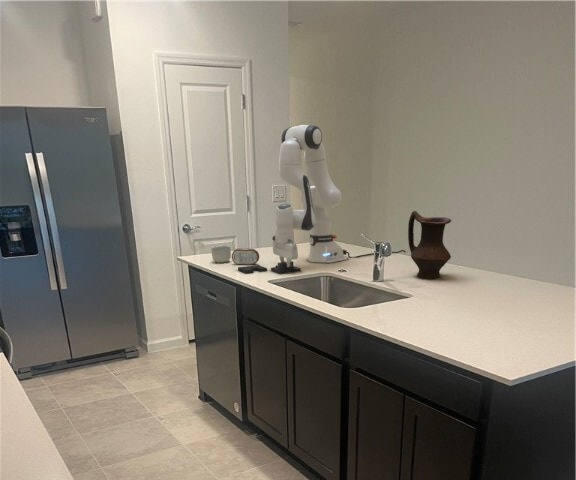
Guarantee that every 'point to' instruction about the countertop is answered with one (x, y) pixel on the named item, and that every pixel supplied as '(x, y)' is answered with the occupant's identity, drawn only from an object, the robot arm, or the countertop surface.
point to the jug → (428, 245)
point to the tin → (245, 256)
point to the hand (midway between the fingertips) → (285, 265)
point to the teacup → (221, 254)
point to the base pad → (252, 269)
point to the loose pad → (285, 268)
